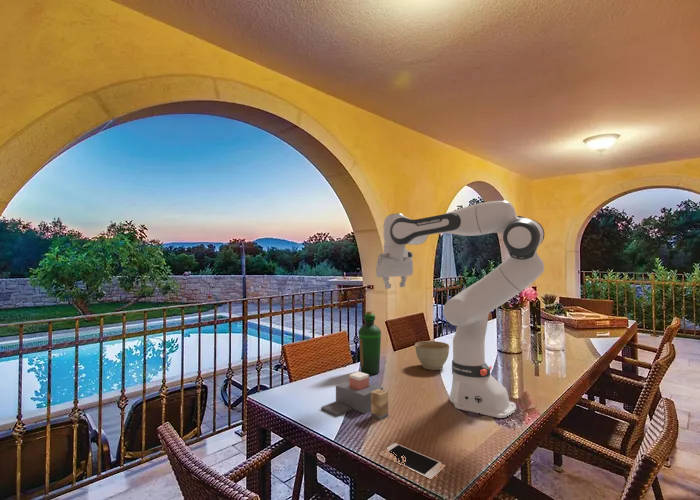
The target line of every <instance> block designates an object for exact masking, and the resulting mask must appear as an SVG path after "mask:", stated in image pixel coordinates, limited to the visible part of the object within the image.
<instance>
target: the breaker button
mask: <svg viewBox="0 0 700 500" xmlns="http://www.w3.org/2000/svg"><path fill="white" fill-rule="evenodd" d="M348 379H349V380H348V381H349V387H351V388H354V389H356V390H359V391H360V390H362V389H365V388H367V387H369V383H370V375H369V374H366V373H362V372H361V371H356V372H353V373H351V374H349V377H348Z"/></svg>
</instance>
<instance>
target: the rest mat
mask: <svg viewBox="0 0 700 500" xmlns="http://www.w3.org/2000/svg"><path fill="white" fill-rule="evenodd" d="M320 409H321V411H323V412H326V413H327V414H331V415H332V416H334V417H340V416H342V415H344V414H347V413H348V412H351V411H352V410H353V409H352V408H351V407H349V406H346V405H344V404H341V403H339V402H336V401H334V402H331V403H328V404H325V405H324V406H321V407H320Z"/></svg>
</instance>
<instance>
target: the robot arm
mask: <svg viewBox="0 0 700 500" xmlns="http://www.w3.org/2000/svg"><path fill="white" fill-rule="evenodd" d="M544 229H545V228H544V227H543V225H542V224H541V223H539V222H538V221H536V220H534V219H533V218H532V219H531V218H528V217H525V216H521V215H517V214H516V210H515V207H514V206H513V204H512V203H510V202H509V201H507V200H492V201H485V202H480V203H475V204H471V205H468V206H464V207H461V208H459V209H456V210H451V211H449V212H446V213H442V214H439V215H433V216H428V217H422V218H417V219H413V218H410V217H407V216H405V215H404V214H403V213H400V212H399V213H392V214H391V213H390V214H388V215H387V216H386V217H385V218H384V222H383V238H384V240H383V241H384V244H383V253H380V254H379V255H378V257H377V261H376V268H375V275H376V277H377V278H382V281H383V283H384V289H391V287H392V284H391V283H390V281H389V280H390V278H392V277H393V278H394V277H400V279H401V280H400V282H399V288H405V287H406V282H407V279H408V277H409V276H412V275H413V273H414V263H413V258H414V254H413V252H412V251H409V250H408V249H406V245H410V246H413V245H414V246H418V245H422V244H423V243H425V242H426V241H427V239H428V237H429V235H436V234H452V235H456V236H465V237H468V236H470V237H475V236H476V237H477V236H482V235H488V234H494V233H496V234H502V239H503V243H504V246H505V248H506V251H507V252H508V254H509V257H508V258H507V259H506V260H504V261H502V263H500V264H499V265H498V266H496V268H494V269H492V270H491V271H490V272H489V273H487V274H486V275H485V276H483V277H482V278H481V279H479V280H476V282H474V283H473V284H471V285H469V286H468V287H466V288H464V289H463V290H461V291H460V292H458V293H457V294H456V295H454V296H452V297H451V298H450V299H449V300H447V301H446V302H445V304H444V306H443V310H442V311H443V317H444V319H445V320H446V321H447V322H448V323H449V324H450V325H452V326H456V330H455V333H454V336H453V339H452V361H451V374H452V383H451V390H450V394H449V398H448V400H449V402H450V403H452V404H453V405H454V408H455V409H458V410H462V411H467V412H471V413H475V414H479V413H480V415H484V416H489V417H493V418H498V419H503V418H508V417H510V416H511V414H512V413H513V414H514V413H515V412H516V411H515V410H517V405H516V403H515V402H513V401H510V397H509V394H508V390H507V388H506V387H505V386H504V385H502V384H501V383H500V382H499V381H498V380H497V379H496V378H495V377H494V376H493V375H492V374H491V370H493V367H492V365H490V366H489V365H488V364H487V363H486V359H485V358H486V356H485V355H486V350H485V349H486V346H485V345H486V343H485V342H486V335H487V334H486V333H487V330H488V328H487V327H488V321H489V316H490V315H489V314H490V313H491V312H492V311H494V310H496V309H497V308H498V307H500V306H503V305H504V304H505V303H507V302H508V301H510V300H511V299H512V298H514V297H515V296H517V295H518V294H520V293H522V292H523V291H524V290H525V289H527V288H528V287H530V286H531V285H532V284H533V283H534V282H535V281H536V280H537V279H538V278H539V277H541V275H542V274H544V272H545V271H544V270H545V264H544V263H545V262H544V261H543V260H542V258H541V257H540V256H539V254H538V248H539V247H540V245H541V244H542V243H543V242H544V239H545V230H544ZM513 414H512V415H513ZM509 415H510V416H509ZM507 416H508V417H507Z"/></svg>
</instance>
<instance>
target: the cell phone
mask: <svg viewBox="0 0 700 500" xmlns="http://www.w3.org/2000/svg"><path fill="white" fill-rule="evenodd" d="M386 448H387V449H389V450H388V451H389V452H390V453H392V454H394V453H395V454H396V455H397V456H396V455H395V454H394V456H396V458H397V461H396V462H398V458H399V460H400V462H399V464H400V463H401V462H402V458H401V456H403V455H404V456H405V457H406V462H404V463H405V466H406V467H408V468H409V469H411V470H413V471H416V472H417V473H419V474H421V475H423V476H425V477H427V478H429V479H428V480H430V479H432V478H433V477H434V476H435V475H436V474H438V473H439V472H440V470H441V469H440V470H439V468H440V466H441V463H442V462H441V461H439V460H437V459H435V458H432V457H430V456H427V455H424V454H422V453H420V452H418V451H416V450H413V449H411V448H408V447H406V446H404V445H401V444H399V443H396V442H393V443H392V444H391V445H389V446H388V447H386ZM391 451H392V452H391ZM393 452H394V453H393ZM404 456H403V457H404ZM404 460H405V458H404ZM404 463H402V465H404ZM400 465H401V464H400ZM400 465H399V466H400ZM439 465H440V466H439ZM438 466H439V468H438ZM437 468H438V469H437ZM409 469H408V470H409ZM411 470H410V471H411ZM413 471H412V472H413ZM417 473H416V474H417ZM440 473H441V472H440ZM440 473H439V474H440ZM419 474H418V475H419ZM439 474H438V475H439ZM421 475H420V476H421ZM423 476H422V477H423ZM425 477H424V478H425ZM435 477H436V476H435ZM435 477H434V478H435ZM427 478H426V479H427ZM434 478H433V479H434ZM433 479H432V480H433Z"/></svg>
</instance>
